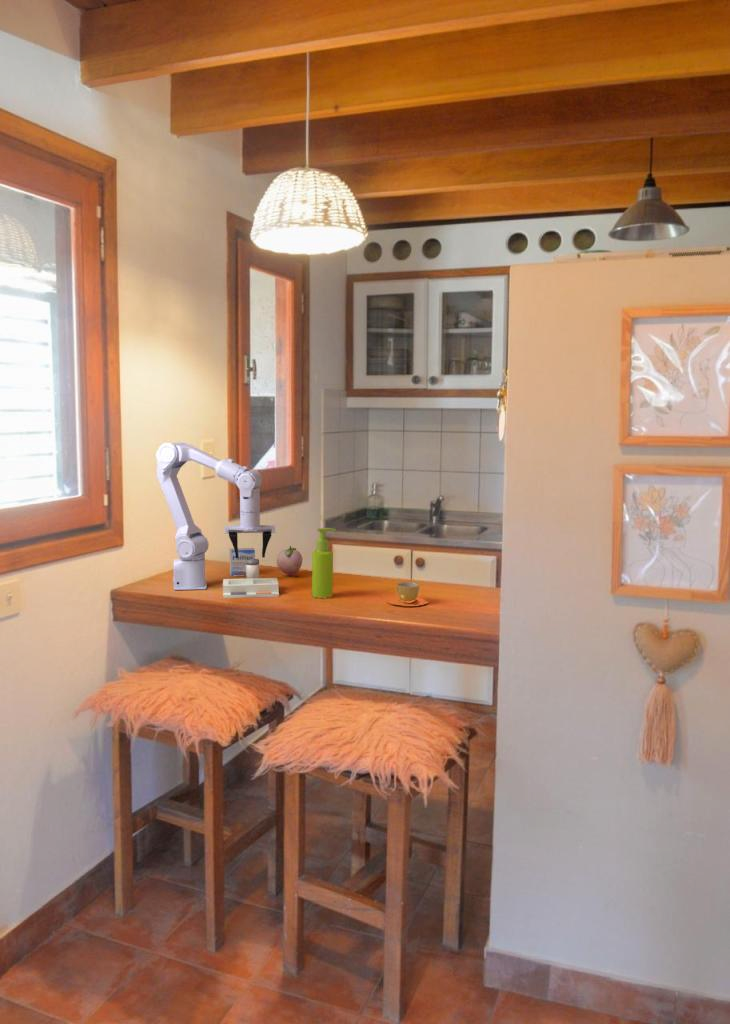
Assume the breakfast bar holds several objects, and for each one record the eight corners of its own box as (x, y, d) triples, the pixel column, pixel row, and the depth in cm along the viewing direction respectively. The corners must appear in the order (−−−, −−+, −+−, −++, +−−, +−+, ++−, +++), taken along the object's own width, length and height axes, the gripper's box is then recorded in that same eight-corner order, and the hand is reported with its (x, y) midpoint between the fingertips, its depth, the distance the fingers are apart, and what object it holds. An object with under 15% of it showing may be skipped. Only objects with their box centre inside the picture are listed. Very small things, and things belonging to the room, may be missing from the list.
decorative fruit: (278, 573, 259) (278, 543, 257) (303, 573, 259) (303, 543, 257) (275, 579, 249) (274, 548, 248) (300, 579, 249) (300, 548, 248)
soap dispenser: (337, 598, 226) (338, 529, 223) (313, 598, 224) (314, 530, 222) (333, 593, 232) (334, 526, 229) (310, 594, 230) (311, 526, 228)
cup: (430, 608, 216) (431, 589, 215) (387, 608, 216) (387, 589, 215) (427, 598, 228) (427, 580, 227) (385, 597, 228) (386, 579, 227)
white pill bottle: (246, 583, 243) (246, 561, 242) (245, 580, 247) (245, 558, 246) (259, 583, 244) (259, 561, 243) (259, 580, 248) (258, 558, 247)
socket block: (223, 598, 224) (222, 587, 224) (223, 588, 235) (223, 579, 235) (279, 596, 227) (279, 586, 226) (276, 587, 238) (276, 577, 238)
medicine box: (230, 576, 252) (230, 550, 251) (229, 574, 257) (229, 548, 255) (255, 575, 254) (255, 549, 253) (253, 573, 259) (253, 547, 257)
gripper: (224, 513, 224) (225, 560, 226) (275, 513, 227) (275, 559, 228) (224, 510, 231) (225, 555, 233) (274, 509, 233) (274, 554, 235)
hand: (250, 557), depth 231 cm, fingers open, 7 cm apart
